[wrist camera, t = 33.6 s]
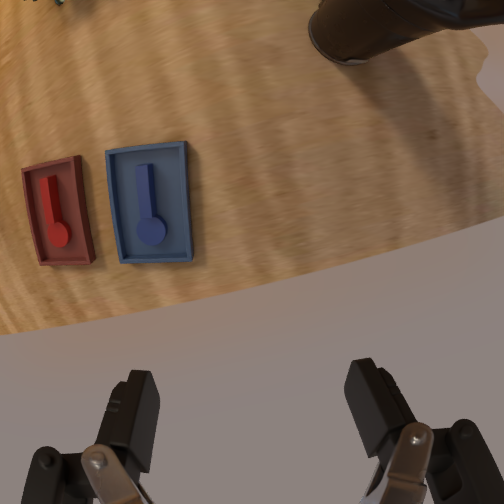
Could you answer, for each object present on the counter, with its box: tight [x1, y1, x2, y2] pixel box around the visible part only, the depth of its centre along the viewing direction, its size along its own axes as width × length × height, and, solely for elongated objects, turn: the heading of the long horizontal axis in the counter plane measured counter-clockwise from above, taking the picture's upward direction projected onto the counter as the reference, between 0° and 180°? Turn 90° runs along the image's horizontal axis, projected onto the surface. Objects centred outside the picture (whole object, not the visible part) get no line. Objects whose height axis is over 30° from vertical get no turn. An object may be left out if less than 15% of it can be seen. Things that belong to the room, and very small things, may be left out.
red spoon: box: [39, 175, 72, 248], centre depth 32 cm, size 10×4×2 cm, turn 1°
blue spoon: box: [135, 163, 168, 246], centre depth 34 cm, size 10×4×2 cm, turn 1°
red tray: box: [21, 155, 96, 266], centre depth 33 cm, size 15×10×2 cm
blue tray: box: [105, 141, 194, 264], centre depth 34 cm, size 15×10×2 cm
